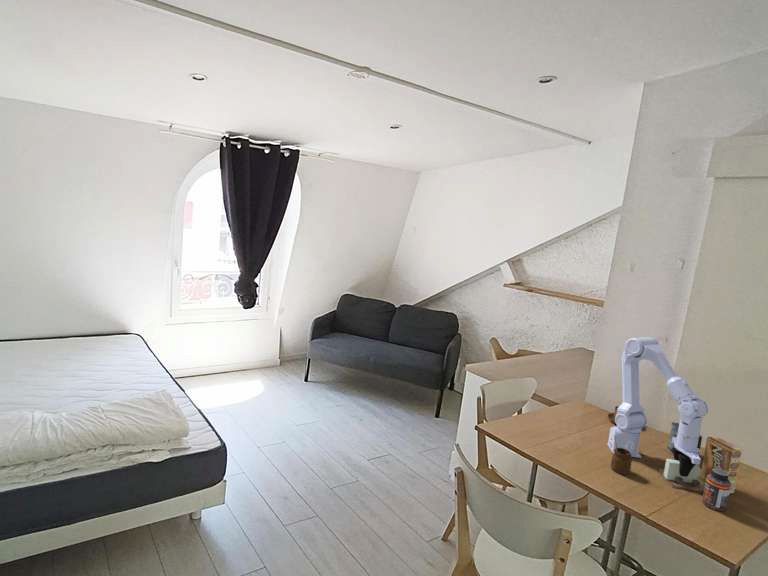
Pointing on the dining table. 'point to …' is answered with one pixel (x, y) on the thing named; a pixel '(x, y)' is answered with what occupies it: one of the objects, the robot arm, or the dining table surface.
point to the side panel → (686, 483)
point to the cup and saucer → (613, 415)
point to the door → (673, 472)
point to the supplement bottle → (717, 490)
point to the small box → (674, 434)
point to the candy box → (721, 459)
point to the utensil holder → (621, 460)
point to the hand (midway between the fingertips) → (681, 473)
